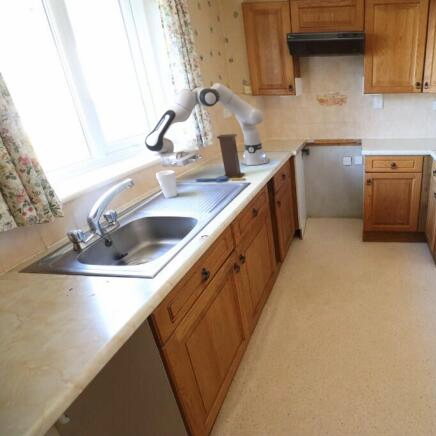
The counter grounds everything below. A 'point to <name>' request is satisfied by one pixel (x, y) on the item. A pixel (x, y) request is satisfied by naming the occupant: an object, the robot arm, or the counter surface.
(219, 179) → the spoon
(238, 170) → the spoon stand
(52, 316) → the counter surface
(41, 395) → the counter surface
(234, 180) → the fry
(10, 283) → the counter surface
